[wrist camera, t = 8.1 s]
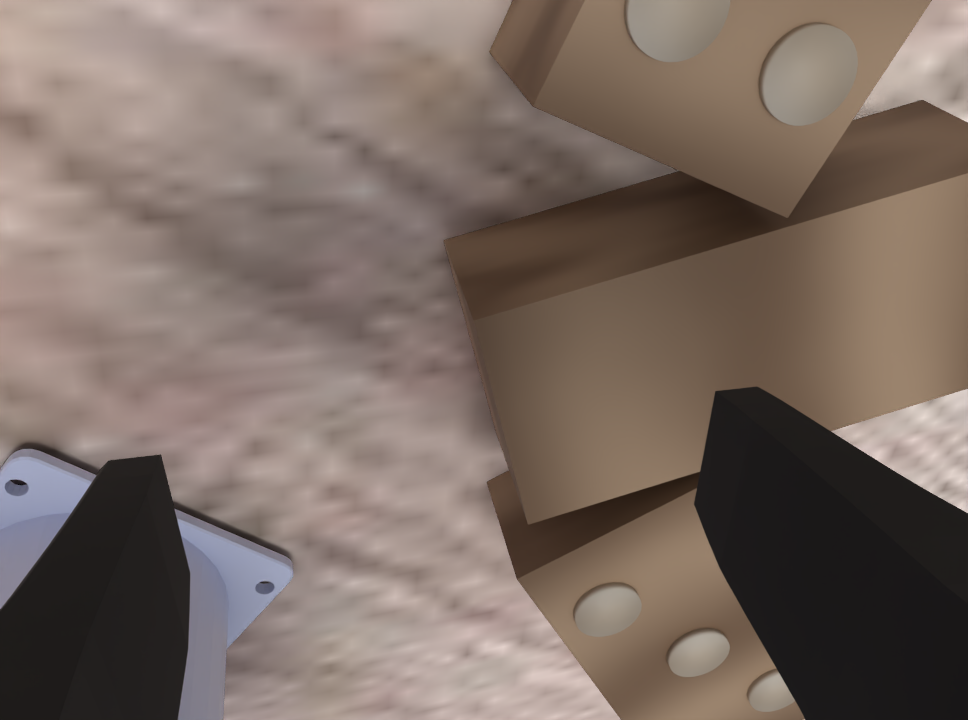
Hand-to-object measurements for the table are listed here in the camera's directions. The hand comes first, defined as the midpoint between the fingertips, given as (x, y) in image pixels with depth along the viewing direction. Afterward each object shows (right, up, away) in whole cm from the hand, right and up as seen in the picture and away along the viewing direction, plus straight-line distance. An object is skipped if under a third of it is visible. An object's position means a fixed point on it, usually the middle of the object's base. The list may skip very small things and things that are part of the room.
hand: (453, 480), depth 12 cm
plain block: (+6, +4, +11) cm, 13 cm away
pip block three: (+6, -4, +17) cm, 18 cm away
